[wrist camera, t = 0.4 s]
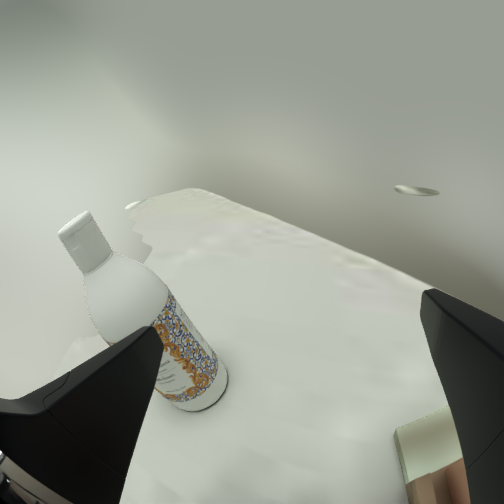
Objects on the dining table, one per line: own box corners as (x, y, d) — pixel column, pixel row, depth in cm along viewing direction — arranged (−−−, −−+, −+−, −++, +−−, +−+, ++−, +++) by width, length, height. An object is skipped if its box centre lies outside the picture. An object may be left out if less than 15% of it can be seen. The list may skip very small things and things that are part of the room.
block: (518, 486, 4) (546, 474, 2) (456, 526, 5) (477, 527, 3) (502, 434, 8) (527, 413, 6) (444, 469, 9) (462, 458, 7)
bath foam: (170, 418, 23) (21, 264, 13) (172, 368, 29) (61, 223, 19) (233, 404, 23) (89, 218, 13) (225, 351, 29) (122, 185, 19)
